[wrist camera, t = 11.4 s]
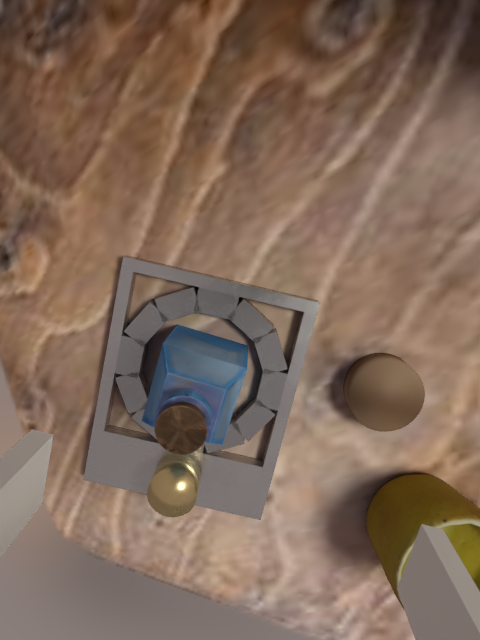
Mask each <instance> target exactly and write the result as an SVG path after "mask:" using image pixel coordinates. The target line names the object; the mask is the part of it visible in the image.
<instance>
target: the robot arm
mask: <svg viewBox="0 0 480 640" xmlns="http://www.w3.org/2000/svg"><path fill="white" fill-rule="evenodd" d="M52 441H53V434H49V433H45V432H41V431H37V430H33V429H32V430H31V431H29V432H28V433H27V434H26V435H25V436H24V437H23V438H22V439H21V440H20V441H19V442H17V443H16V444H15V445H14V446H13V447H12V448H11V449H10V450H9V451H8V452H7V453H6V454H4V455H3V456H2V457H1V458H0V558H1V556H2V555H3V554H4V552H5V551H6V550H7V548H8V547H9V546H10V545H11V543H12V542H13V541H14V539H15V538H16V537H17V535H18V534H19V533H20V532H21V530H22V529H23V528H24V526H25V525H26V524H27V522H28V521H29V520H30V518H31V517H32V516H33V515H34V513H35V512H36V511H37V509H38V508H39V507H40V506H41V504H42V502H43V496H44V490H45V484H46V478H47V472H48V465H49V459H50V453H51V447H52ZM397 591H398V593H399V596H400V599H401V601H402V604H403V607H404V610H405V612H406V615H407V618H408V620H409V623H410V626H411V628H412V631H413V634H414V636H415V639H416V640H480V591H479V589H478V588H477V586H476V584H475V583H474V581H473V579H472V578H471V576H470V574H469V573H468V571H467V569H466V567H465V566H464V564H463V562H462V561H461V559H460V557H459V556H458V554H457V552H456V551H455V549H454V547H453V546H452V544H451V542H450V540H449V539H448V537H447V535H446V534H445V532H444V530H443V529H440V528H436V527H431V526H427V525H423V524H421V527H420V530H419V532H418V535H417V537H416V540H415V543H414V545H413V548H412V550H411V553H410V556H409V558H408V561H407V563H406V566H405V569H404V571H403V574H402V577H401V579H400V582H399V584H398V587H397Z"/></svg>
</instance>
